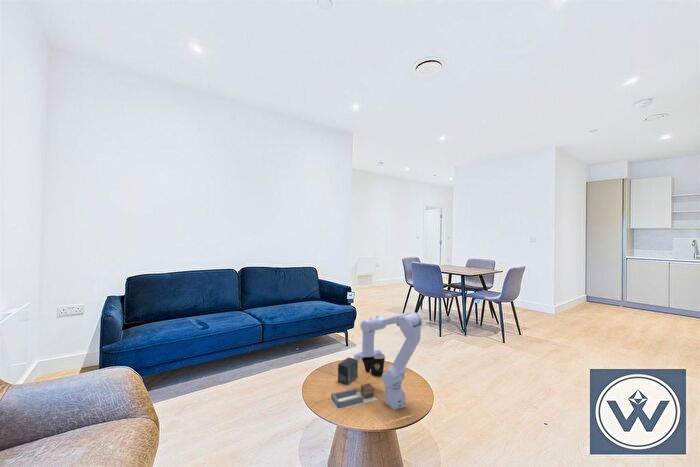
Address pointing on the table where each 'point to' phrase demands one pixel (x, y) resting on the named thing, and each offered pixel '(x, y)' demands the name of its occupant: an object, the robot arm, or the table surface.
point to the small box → (347, 371)
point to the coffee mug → (378, 365)
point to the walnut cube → (367, 391)
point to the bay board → (348, 398)
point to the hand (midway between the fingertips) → (367, 371)
